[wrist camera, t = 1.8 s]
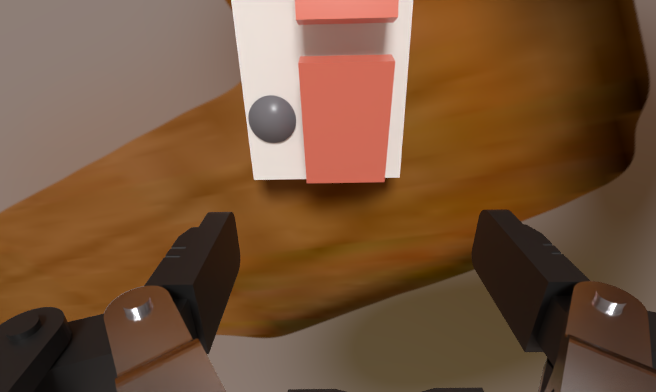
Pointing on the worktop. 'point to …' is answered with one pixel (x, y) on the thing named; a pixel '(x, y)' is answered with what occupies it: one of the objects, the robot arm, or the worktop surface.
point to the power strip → (283, 77)
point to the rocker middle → (345, 11)
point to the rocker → (346, 116)
